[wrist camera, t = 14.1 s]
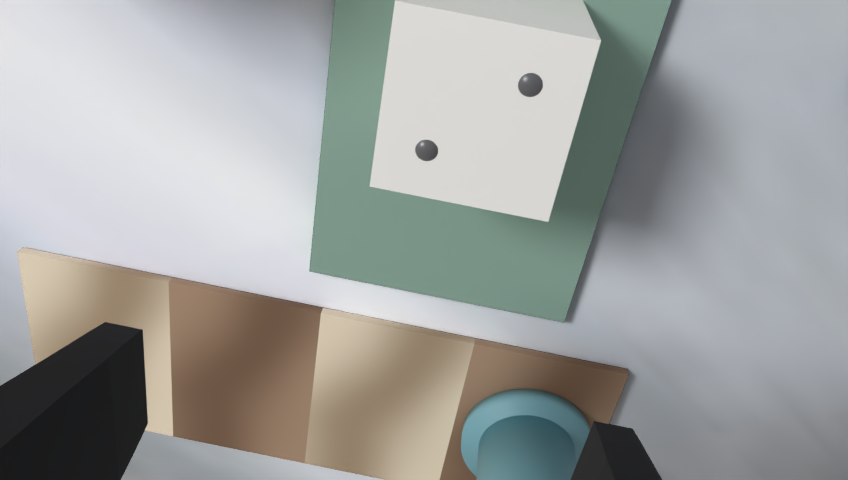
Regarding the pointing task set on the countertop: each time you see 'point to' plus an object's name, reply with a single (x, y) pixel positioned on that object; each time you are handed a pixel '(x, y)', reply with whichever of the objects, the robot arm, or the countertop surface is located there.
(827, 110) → the countertop surface
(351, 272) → the felt pad
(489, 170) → the die
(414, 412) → the track
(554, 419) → the pawn
